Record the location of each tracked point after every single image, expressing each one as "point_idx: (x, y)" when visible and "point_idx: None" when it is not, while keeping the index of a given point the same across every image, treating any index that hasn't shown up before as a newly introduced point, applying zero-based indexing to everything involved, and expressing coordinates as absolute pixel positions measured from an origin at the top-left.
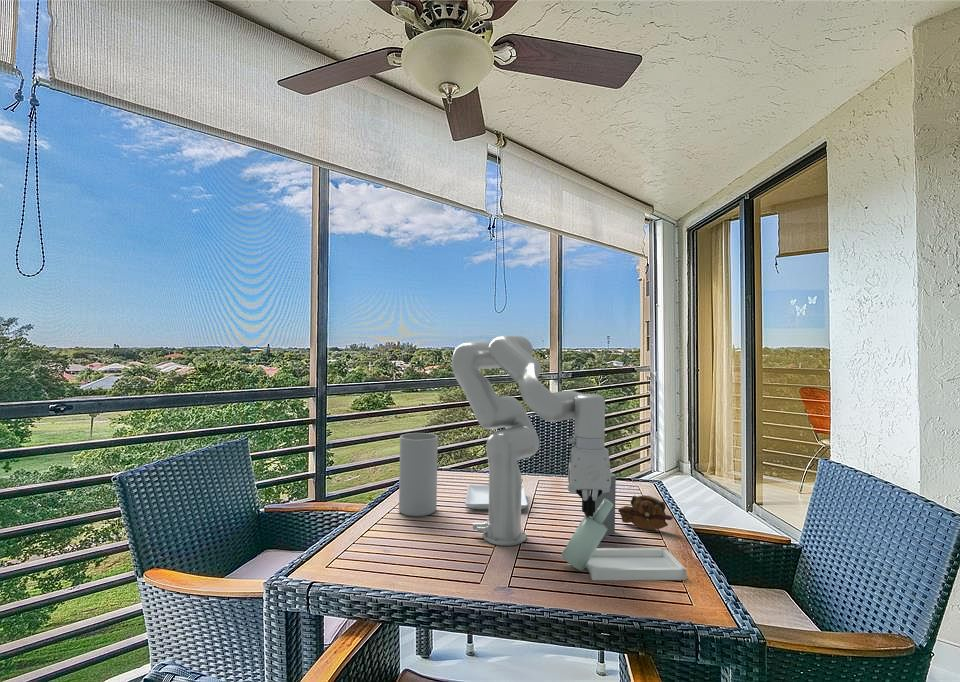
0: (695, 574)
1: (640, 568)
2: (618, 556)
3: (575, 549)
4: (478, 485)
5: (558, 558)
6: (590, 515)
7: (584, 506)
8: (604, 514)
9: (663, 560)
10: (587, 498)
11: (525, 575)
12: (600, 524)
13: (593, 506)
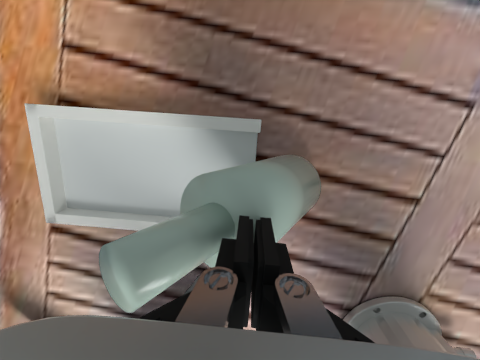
0: (20, 130)
1: (136, 118)
2: (165, 216)
3: (299, 170)
4: None
5: (300, 230)
6: (251, 219)
7: (284, 258)
8: (178, 217)
9: (70, 188)
10: (276, 285)
11: (409, 156)
12: (207, 203)
13: (228, 253)
